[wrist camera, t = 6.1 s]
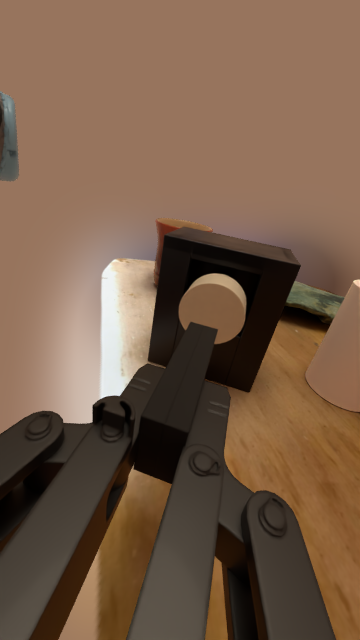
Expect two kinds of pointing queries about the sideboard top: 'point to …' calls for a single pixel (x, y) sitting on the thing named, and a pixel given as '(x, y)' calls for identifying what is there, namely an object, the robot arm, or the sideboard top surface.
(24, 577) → the robot arm
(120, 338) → the sideboard top surface
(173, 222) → the mug
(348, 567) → the sideboard top surface
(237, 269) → the control box
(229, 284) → the knob
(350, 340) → the candle
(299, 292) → the decorative stone
